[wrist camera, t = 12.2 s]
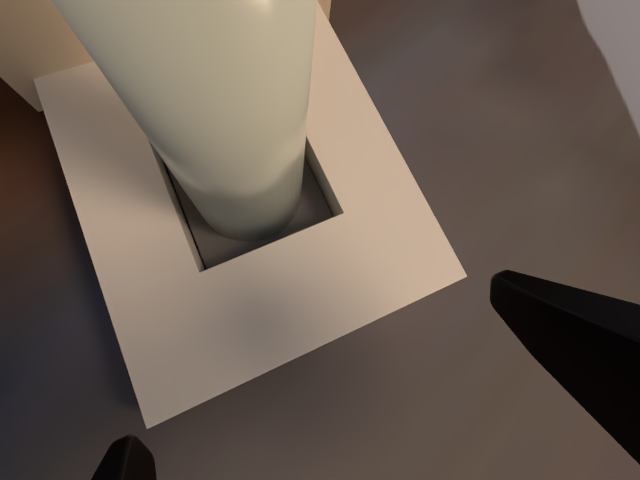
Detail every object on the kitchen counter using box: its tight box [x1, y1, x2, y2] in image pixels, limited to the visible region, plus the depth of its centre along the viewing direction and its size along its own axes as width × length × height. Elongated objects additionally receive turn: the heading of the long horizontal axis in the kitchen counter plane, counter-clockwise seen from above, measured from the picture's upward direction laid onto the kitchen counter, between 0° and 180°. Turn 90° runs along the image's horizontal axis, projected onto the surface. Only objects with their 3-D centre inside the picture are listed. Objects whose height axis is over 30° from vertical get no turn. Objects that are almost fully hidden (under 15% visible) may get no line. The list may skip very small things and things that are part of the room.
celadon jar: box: [52, 0, 317, 242], centre depth 11 cm, size 5×5×14 cm
